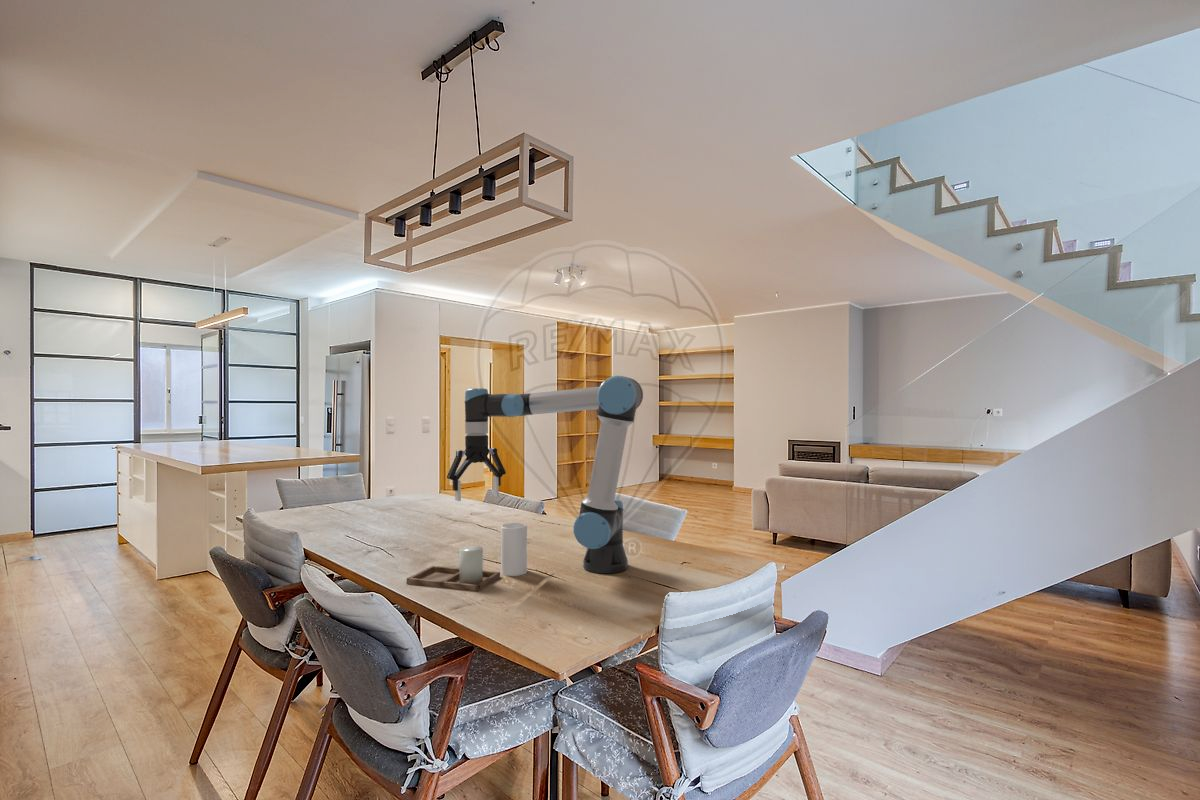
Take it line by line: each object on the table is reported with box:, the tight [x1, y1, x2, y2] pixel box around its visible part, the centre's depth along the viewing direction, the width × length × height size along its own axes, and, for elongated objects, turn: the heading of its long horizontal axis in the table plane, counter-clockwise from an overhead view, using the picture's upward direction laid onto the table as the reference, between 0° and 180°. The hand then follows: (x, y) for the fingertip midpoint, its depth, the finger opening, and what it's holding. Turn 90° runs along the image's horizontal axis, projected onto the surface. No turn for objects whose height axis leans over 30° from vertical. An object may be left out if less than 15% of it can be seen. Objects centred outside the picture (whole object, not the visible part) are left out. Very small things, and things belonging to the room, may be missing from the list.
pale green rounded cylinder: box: [458, 545, 484, 585], centre depth 172 cm, size 7×7×10 cm
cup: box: [500, 522, 528, 577], centre depth 182 cm, size 8×8×16 cm
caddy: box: [406, 565, 501, 592], centre depth 173 cm, size 24×14×2 cm, turn 74°
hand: (477, 498), depth 188 cm, fingers open, 13 cm apart
